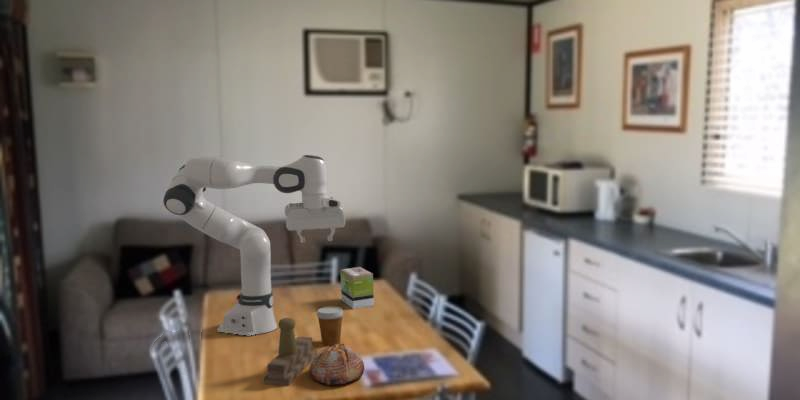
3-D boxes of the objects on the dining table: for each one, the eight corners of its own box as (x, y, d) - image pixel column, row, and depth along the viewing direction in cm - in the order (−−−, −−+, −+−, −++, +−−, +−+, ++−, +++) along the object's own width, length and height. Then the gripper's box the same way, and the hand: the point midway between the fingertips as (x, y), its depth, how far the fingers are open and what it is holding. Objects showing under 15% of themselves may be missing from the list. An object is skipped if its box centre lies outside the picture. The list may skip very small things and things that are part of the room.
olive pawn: (293, 356, 199) (292, 322, 198) (275, 355, 201) (273, 321, 200) (300, 349, 205) (299, 316, 204) (283, 348, 207) (281, 315, 205)
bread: (354, 364, 211) (354, 334, 211) (370, 386, 193) (372, 353, 192) (304, 368, 206) (305, 337, 205) (317, 391, 188) (317, 357, 187)
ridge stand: (288, 385, 192) (288, 366, 191) (263, 383, 194) (262, 364, 193) (316, 355, 217) (316, 337, 217) (294, 354, 219) (293, 336, 218)
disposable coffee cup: (348, 339, 233) (347, 307, 232) (338, 348, 224) (337, 314, 223) (324, 337, 236) (323, 305, 235) (313, 345, 227) (312, 312, 226)
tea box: (340, 301, 285) (339, 268, 283) (361, 298, 289) (360, 266, 288) (352, 309, 271) (351, 275, 270) (374, 306, 276) (373, 272, 274)
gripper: (285, 204, 216) (286, 245, 218) (345, 201, 221) (346, 241, 223) (283, 202, 223) (285, 242, 224) (342, 199, 227) (343, 238, 229)
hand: (316, 241), depth 223 cm, fingers open, 8 cm apart
